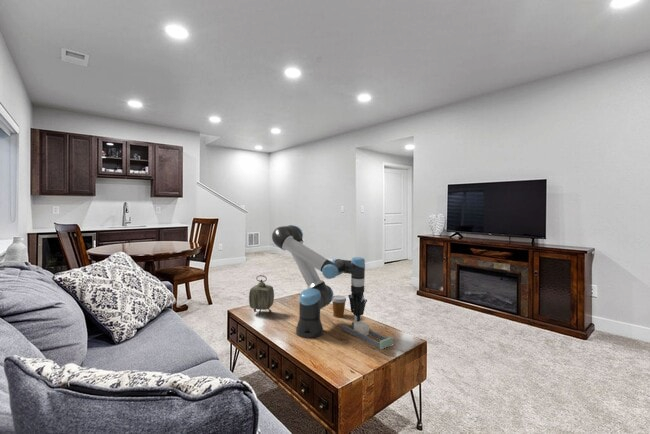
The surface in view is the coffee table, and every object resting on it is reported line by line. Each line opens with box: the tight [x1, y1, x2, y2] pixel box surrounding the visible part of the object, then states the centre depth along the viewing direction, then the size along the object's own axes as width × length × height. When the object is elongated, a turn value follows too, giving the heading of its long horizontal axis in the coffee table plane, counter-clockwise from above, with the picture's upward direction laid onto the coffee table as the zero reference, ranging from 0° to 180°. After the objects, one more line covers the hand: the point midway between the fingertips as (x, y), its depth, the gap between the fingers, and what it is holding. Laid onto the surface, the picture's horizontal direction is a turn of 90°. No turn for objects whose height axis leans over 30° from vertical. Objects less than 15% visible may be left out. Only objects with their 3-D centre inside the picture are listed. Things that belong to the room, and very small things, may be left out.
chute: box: [341, 321, 394, 350], centre depth 172 cm, size 9×30×4 cm, turn 38°
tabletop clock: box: [248, 275, 275, 315], centre depth 203 cm, size 14×9×25 cm, turn 82°
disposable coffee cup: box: [331, 295, 347, 318], centre depth 202 cm, size 10×10×12 cm
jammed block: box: [353, 320, 370, 336], centre depth 175 cm, size 6×6×6 cm
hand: (356, 326), depth 178 cm, fingers closed
